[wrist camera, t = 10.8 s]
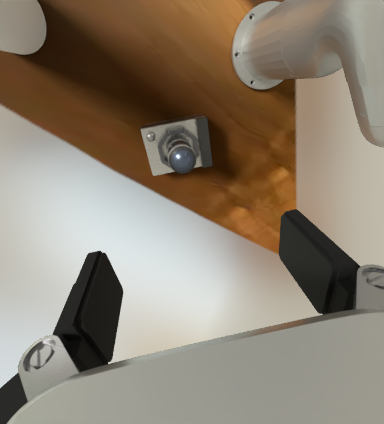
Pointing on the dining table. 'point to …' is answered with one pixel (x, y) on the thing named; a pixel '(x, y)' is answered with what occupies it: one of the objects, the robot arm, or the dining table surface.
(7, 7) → the cylinder container
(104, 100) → the dining table surface
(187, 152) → the lens
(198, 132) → the grey striped block
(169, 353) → the robot arm
